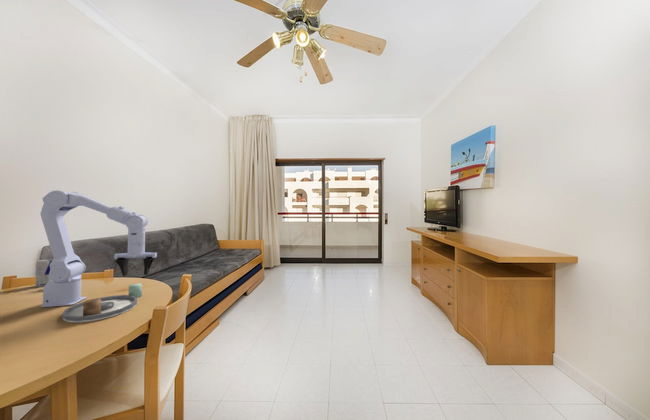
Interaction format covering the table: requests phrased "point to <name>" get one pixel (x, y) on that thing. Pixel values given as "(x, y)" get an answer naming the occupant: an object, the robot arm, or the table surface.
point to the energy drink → (43, 272)
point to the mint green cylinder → (135, 290)
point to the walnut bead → (92, 307)
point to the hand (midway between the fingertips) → (135, 274)
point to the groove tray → (108, 309)
